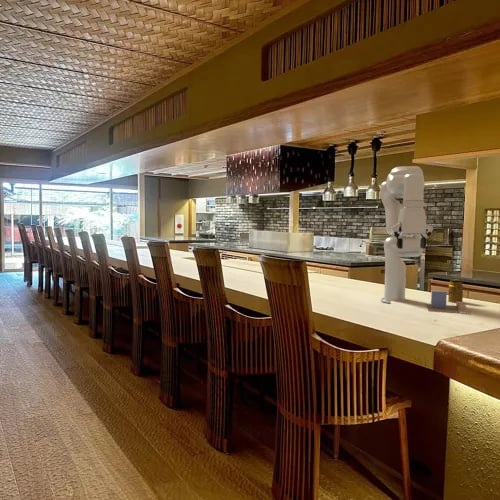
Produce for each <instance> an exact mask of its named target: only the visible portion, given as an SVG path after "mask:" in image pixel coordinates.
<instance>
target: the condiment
mask: <svg viewBox="0 0 500 500" xmlns="http://www.w3.org/2000/svg"><path fill="white" fill-rule="evenodd" d="M463 292H464V286H463V280H462V279H457V278H456V279H455V278H452V279H451V278H450V279H449V284H448V294H447V295H448V297H447V299H448V303H452V304H456V302H463V299H464V297H463V296H464V295H463V294H464V293H463Z"/></svg>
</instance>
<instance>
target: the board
mask: <svg viewBox="0 0 500 500" xmlns="http://www.w3.org/2000/svg"><path fill="white" fill-rule="evenodd" d="M424 304H425V306H426V309H427V311H428V312H429V313H445V314H458V315H459V314H461V313H460V312H459V311H458V310H459V309H458V308H457V307H456V305H452V304H451V305H449V304H446V308H441V307H431V303H424ZM466 310H468V309H467V308H466Z"/></svg>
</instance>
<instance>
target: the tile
mask: <svg viewBox="0 0 500 500" xmlns="http://www.w3.org/2000/svg"><path fill="white" fill-rule="evenodd" d="M447 295H448V292H447V291H444V290H431V292H430V297H431V298H430V304H431V307H441V308H446V305H447V298H448V297H447Z"/></svg>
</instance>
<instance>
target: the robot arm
mask: <svg viewBox="0 0 500 500" xmlns="http://www.w3.org/2000/svg"><path fill="white" fill-rule="evenodd" d="M425 184H426V183H425V177H424V172H423V169H422V168H421V167H420V166H418V165H413V166H412V165H411V166H409V165H408V166H407V165H406V166H396V167H394V168H392V169H391V171H390V173H389V174H388V175H387V178H386V180H385V181H383V182H382V183H381V185H380V187H379V188H380V189H379V193H380V200H381V202H382V204H383V207H384V211H385V229H386V233H387V234H388V235H390V236H389V237H387V238H386V239H385V240H383V241H384V242H383V249H384V263H385V264H384V295H383V296H384V297H381V298H380V301H381V302H382V303H387V304H391V301H394V302H399V301H400V302H402V301H403V302H404V301H406V281H407V280H406V279H407V278H406V277H407V276H406V275H407V265H406V263H405V261H404V260H402V258H403V257H404V258H407V257H408V258H409V257H410V258H411V257H413V258H417V257H420V256H421V255H422V253H423V249H426V247H427V243H428V242H427V240H428V238H429V237H430V236H431V235H432V233H433V230H434V227H433V226H431V225H430V224H428V223H427V216H426V210H425V208H424V207H426V206H427V203H426V202H424V188H425ZM396 198H397V199H399V198H402V199H403V200H402V204H401V203H400V201H399V200H397V199H396Z"/></svg>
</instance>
